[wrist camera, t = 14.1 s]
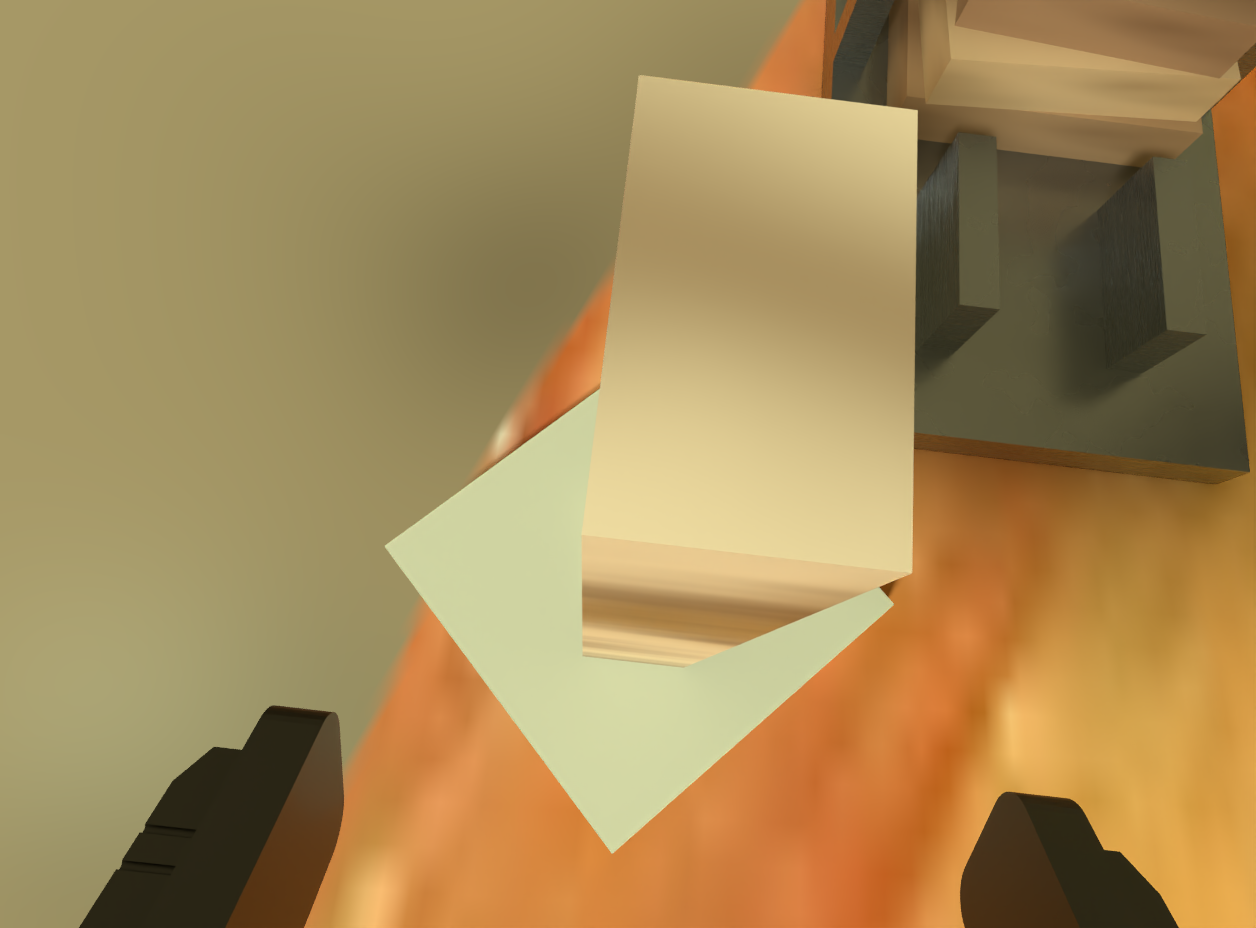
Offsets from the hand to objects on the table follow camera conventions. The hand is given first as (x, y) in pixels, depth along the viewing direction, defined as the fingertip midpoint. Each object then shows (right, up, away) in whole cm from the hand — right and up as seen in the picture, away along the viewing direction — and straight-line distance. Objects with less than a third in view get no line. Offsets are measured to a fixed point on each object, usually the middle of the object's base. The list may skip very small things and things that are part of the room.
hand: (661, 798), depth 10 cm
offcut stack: (+14, +19, +21) cm, 31 cm away
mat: (0, 0, +16) cm, 16 cm away
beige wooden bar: (0, +1, +15) cm, 15 cm away
